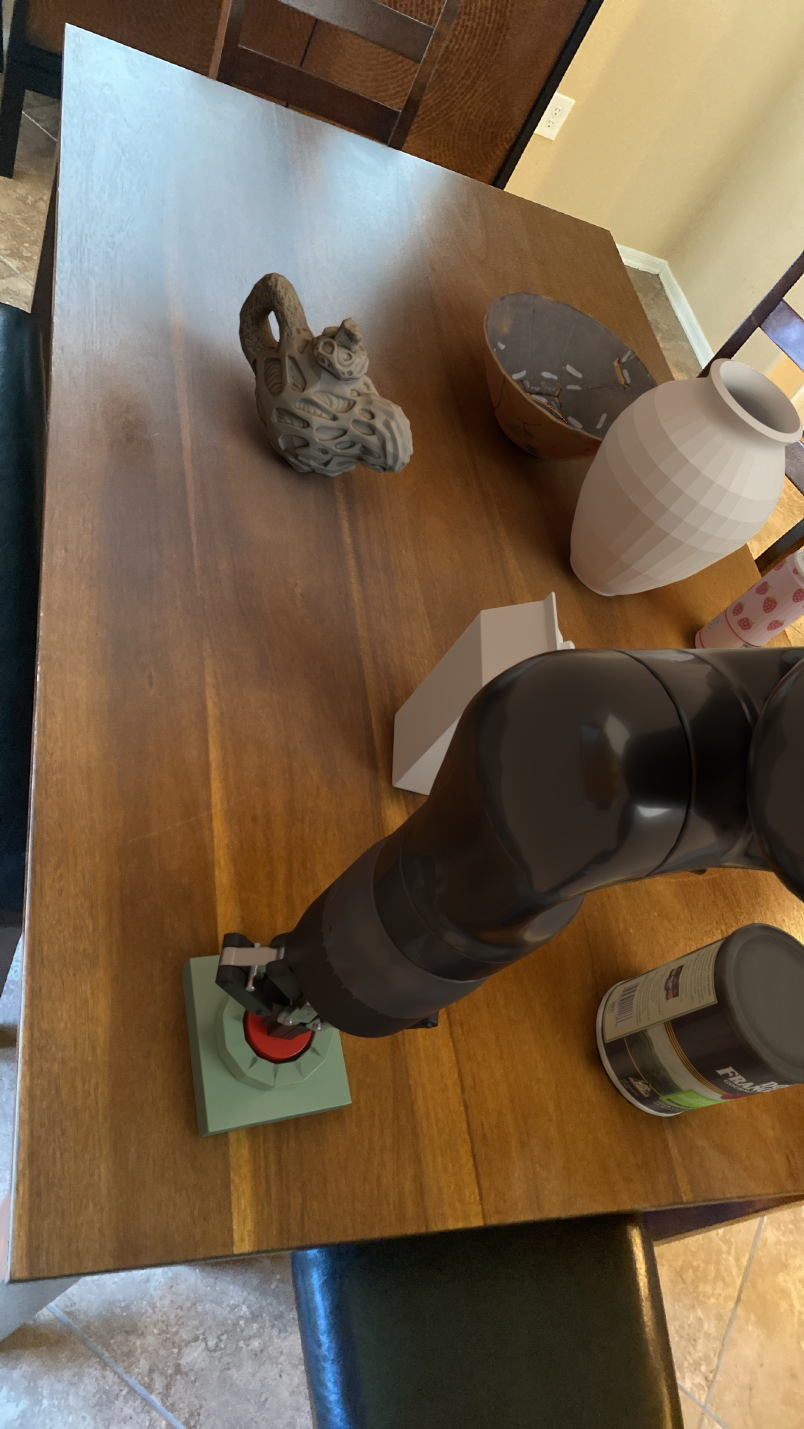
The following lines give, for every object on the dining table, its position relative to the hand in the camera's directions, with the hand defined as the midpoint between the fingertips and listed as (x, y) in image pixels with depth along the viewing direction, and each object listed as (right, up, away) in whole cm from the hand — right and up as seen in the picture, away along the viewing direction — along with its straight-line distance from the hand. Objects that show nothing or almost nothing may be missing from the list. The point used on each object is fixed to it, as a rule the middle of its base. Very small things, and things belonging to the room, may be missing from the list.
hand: (280, 1021), depth 52 cm
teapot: (-3, +45, +34) cm, 56 cm away
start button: (-1, -1, +1) cm, 2 cm away
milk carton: (+10, +14, +21) cm, 27 cm away
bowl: (+23, +53, +55) cm, 80 cm away
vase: (+29, +34, +45) cm, 64 cm away
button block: (-2, -2, +3) cm, 4 cm away
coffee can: (+27, -7, +16) cm, 32 cm away
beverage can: (+43, +25, +47) cm, 68 cm away
